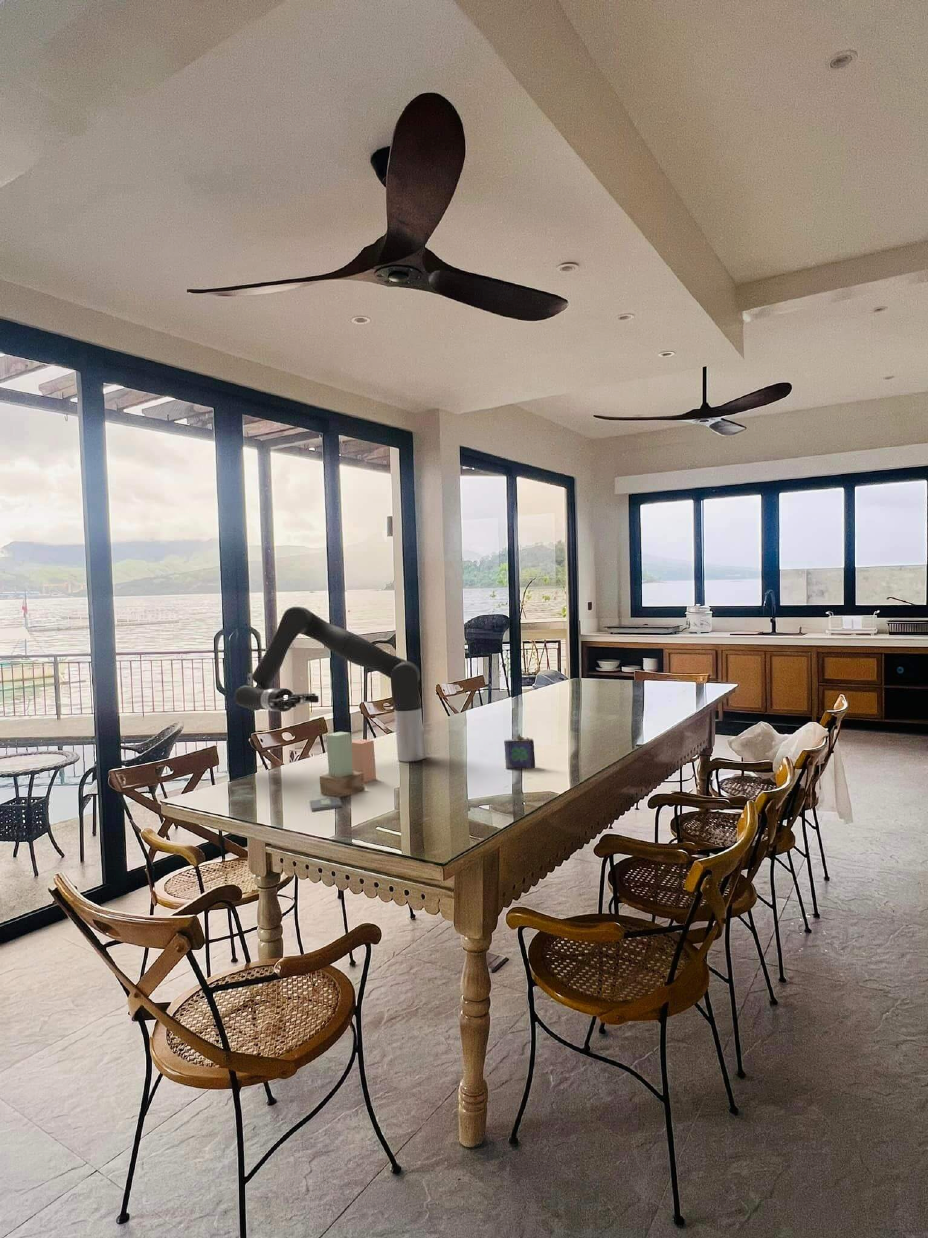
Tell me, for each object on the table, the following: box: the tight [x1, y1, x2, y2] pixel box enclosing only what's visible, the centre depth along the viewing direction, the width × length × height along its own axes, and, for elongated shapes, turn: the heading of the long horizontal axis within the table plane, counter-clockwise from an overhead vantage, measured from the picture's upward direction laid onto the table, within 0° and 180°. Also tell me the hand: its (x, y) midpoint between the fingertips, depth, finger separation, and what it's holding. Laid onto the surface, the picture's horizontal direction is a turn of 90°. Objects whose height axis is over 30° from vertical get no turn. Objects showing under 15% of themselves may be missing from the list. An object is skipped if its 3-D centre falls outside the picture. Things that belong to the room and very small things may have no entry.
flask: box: [503, 732, 536, 770], centre depth 222 cm, size 9×3×11 cm, turn 79°
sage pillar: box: [325, 731, 353, 778], centre depth 209 cm, size 5×5×12 cm
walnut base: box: [319, 771, 365, 798], centre depth 209 cm, size 9×9×5 cm
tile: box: [309, 796, 343, 812], centre depth 196 cm, size 8×8×1 cm
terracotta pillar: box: [351, 738, 377, 784], centre depth 221 cm, size 5×5×12 cm
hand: (306, 701), depth 224 cm, fingers open, 8 cm apart
